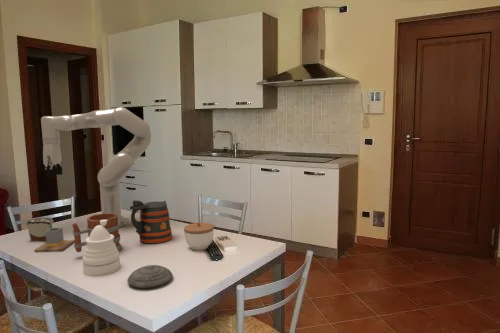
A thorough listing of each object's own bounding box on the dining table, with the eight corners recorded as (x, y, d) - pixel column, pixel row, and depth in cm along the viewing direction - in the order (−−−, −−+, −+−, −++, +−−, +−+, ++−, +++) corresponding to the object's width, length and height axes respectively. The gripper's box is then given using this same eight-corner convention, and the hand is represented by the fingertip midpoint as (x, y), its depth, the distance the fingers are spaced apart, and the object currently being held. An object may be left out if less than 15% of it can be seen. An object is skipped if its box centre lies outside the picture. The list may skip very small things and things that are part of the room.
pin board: (75, 242, 175) (74, 227, 174) (62, 251, 163) (61, 235, 162) (48, 242, 174) (47, 228, 174) (34, 252, 163) (32, 236, 162)
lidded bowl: (219, 244, 167) (218, 219, 166) (204, 254, 156) (203, 227, 154) (195, 241, 173) (194, 217, 171) (178, 250, 161) (177, 224, 160)
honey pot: (108, 259, 152) (105, 215, 150) (127, 267, 144) (123, 220, 142) (76, 270, 142) (72, 223, 140) (94, 278, 134) (90, 228, 132)
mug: (128, 250, 163) (125, 215, 161) (82, 262, 149) (79, 225, 147) (113, 242, 172) (111, 210, 171) (68, 254, 159) (65, 219, 157)
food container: (60, 237, 182) (58, 217, 181) (52, 241, 176) (50, 220, 175) (36, 237, 183) (34, 217, 182) (27, 241, 177) (25, 220, 176)
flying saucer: (118, 285, 129) (116, 269, 128) (150, 269, 142) (150, 255, 141) (150, 295, 121) (149, 278, 120) (181, 277, 134) (181, 262, 133)
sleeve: (64, 242, 171) (62, 227, 170) (58, 246, 166) (57, 230, 165) (52, 243, 171) (51, 227, 170) (46, 246, 166) (45, 231, 165)
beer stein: (145, 249, 163) (142, 203, 160) (124, 243, 172) (121, 199, 169) (178, 237, 178) (176, 195, 175) (158, 232, 187) (155, 192, 184)
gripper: (51, 140, 196) (54, 173, 198) (34, 142, 179) (38, 179, 181) (66, 140, 196) (69, 173, 198) (51, 142, 179) (54, 178, 181)
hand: (54, 176), depth 190 cm, fingers open, 9 cm apart
